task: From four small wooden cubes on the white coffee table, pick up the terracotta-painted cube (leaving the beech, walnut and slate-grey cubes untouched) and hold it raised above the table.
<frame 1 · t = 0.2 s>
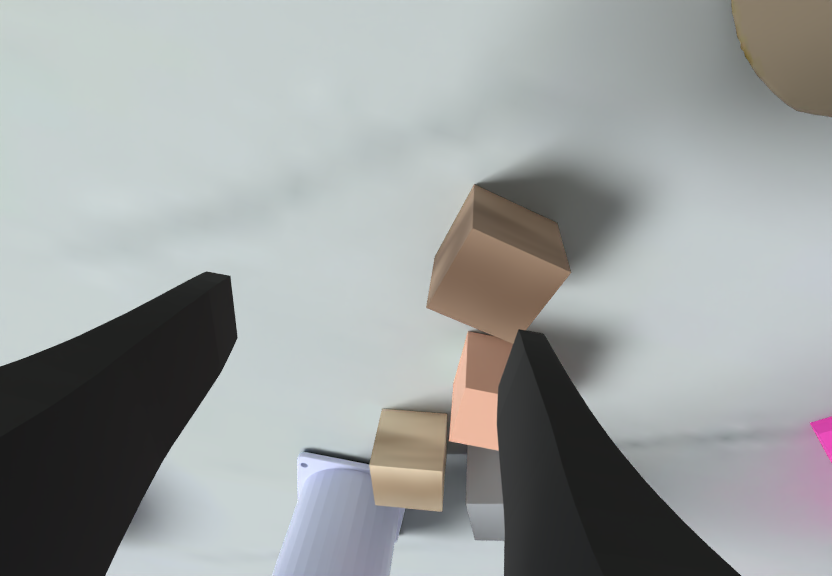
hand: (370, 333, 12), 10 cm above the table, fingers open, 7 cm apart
walnut cube: (493, 239, 21), on the table
terracotta cube: (496, 364, 25), on the table
slate cube: (502, 462, 30), on the table
beech cube: (415, 431, 29), on the table
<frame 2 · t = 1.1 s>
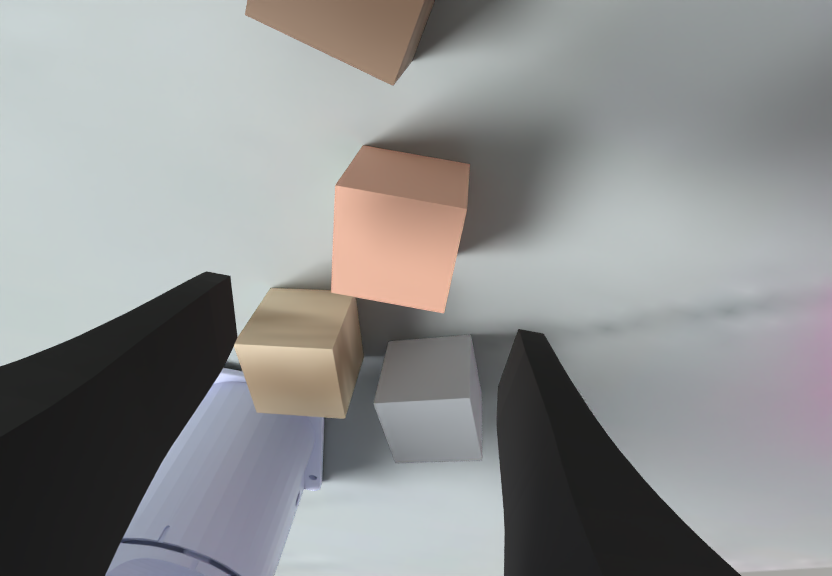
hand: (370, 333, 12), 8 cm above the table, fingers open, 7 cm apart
terracotta cube: (409, 203, 18), on the table
slate cube: (436, 367, 23), on the table
beech cube: (319, 322, 22), on the table
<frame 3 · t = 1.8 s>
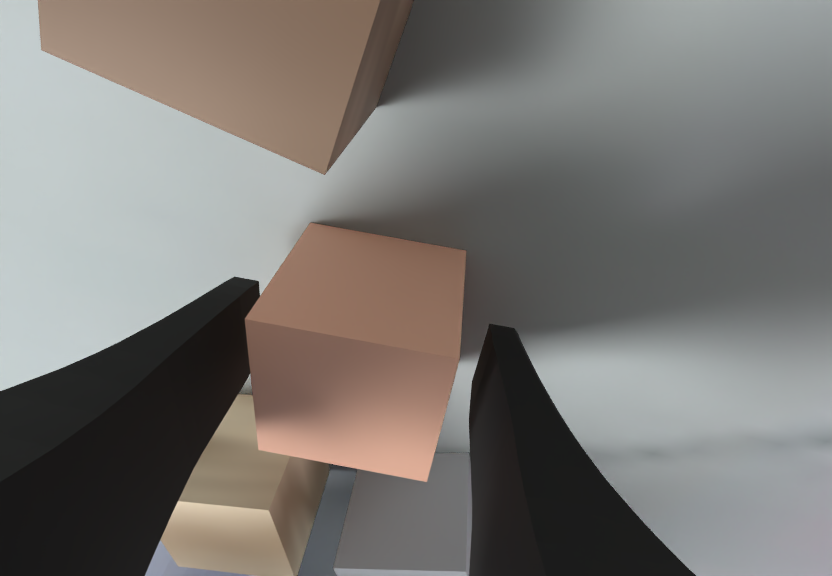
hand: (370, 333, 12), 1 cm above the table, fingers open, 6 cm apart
terracotta cube: (381, 297, 13), on the table
slate cube: (424, 484, 18), on the table
beech cube: (270, 431, 17), on the table
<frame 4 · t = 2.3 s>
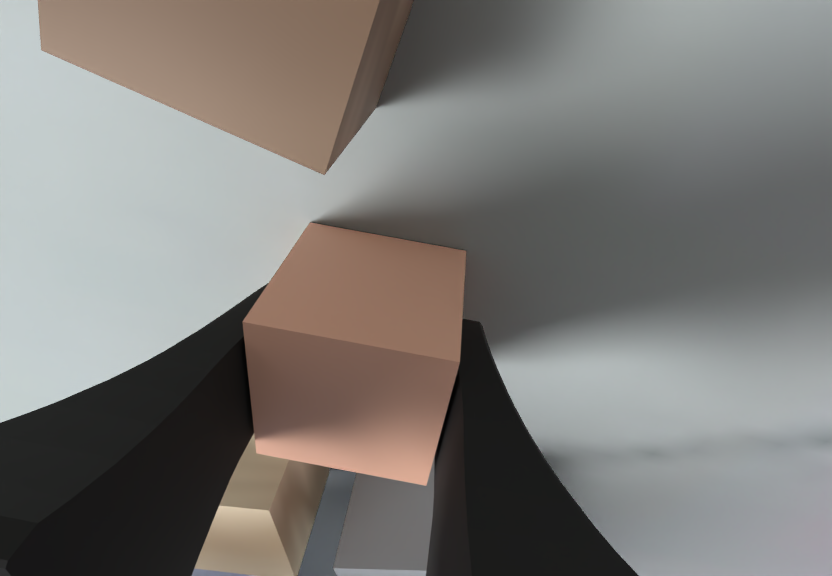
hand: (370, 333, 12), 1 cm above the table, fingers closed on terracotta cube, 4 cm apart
terracotta cube: (380, 299, 13), on the table, touching gripper
slate cube: (424, 484, 18), on the table
beech cube: (269, 431, 17), on the table
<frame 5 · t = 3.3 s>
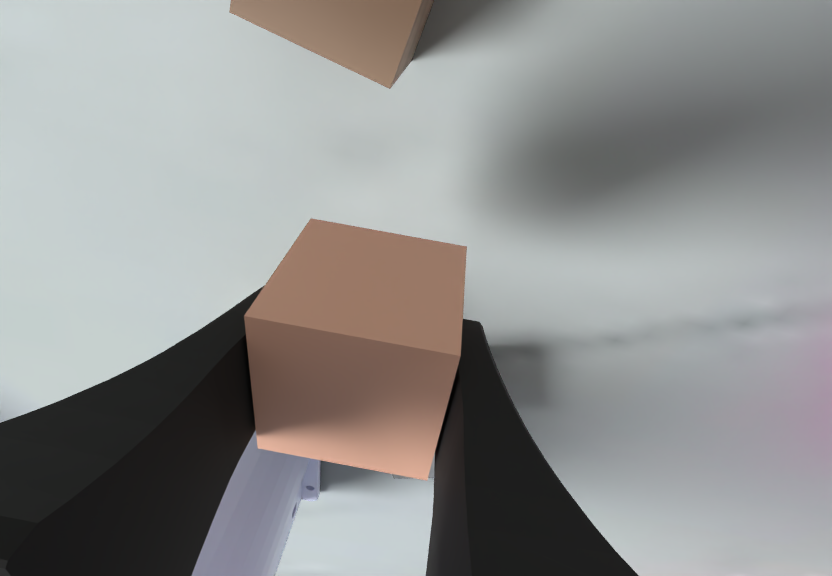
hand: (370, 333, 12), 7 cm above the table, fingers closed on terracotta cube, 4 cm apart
terracotta cube: (381, 295, 13), point 5 cm above the table, touching gripper
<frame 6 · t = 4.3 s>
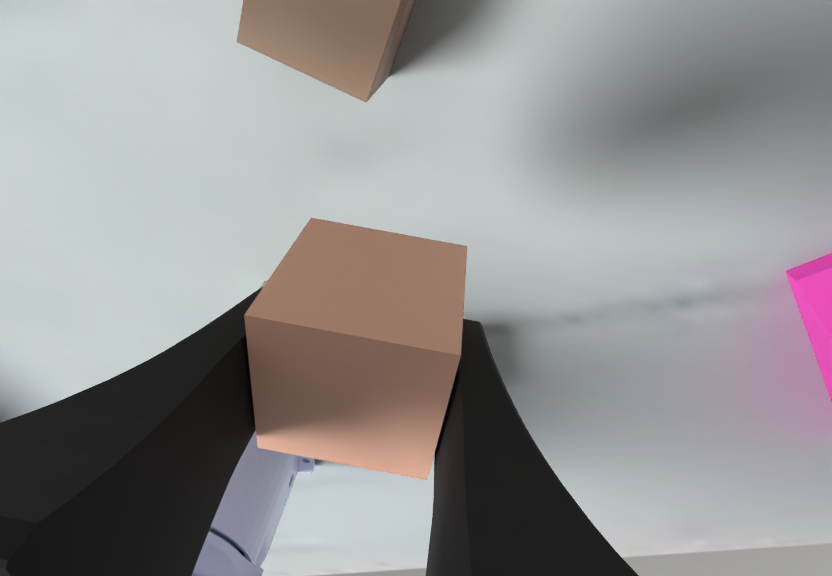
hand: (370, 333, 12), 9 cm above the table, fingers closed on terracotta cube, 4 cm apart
terracotta cube: (381, 295, 13), point 8 cm above the table, touching gripper
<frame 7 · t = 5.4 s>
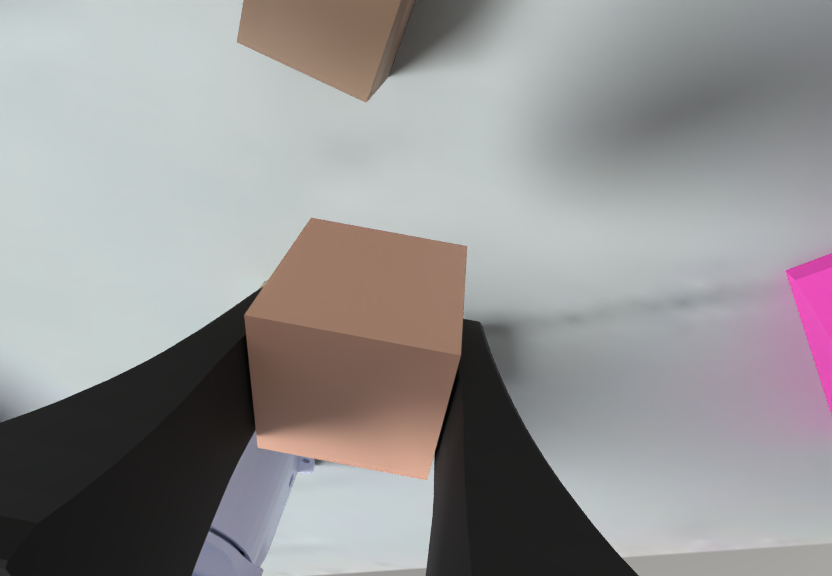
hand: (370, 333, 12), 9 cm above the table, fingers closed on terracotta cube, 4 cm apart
terracotta cube: (381, 295, 13), point 8 cm above the table, touching gripper
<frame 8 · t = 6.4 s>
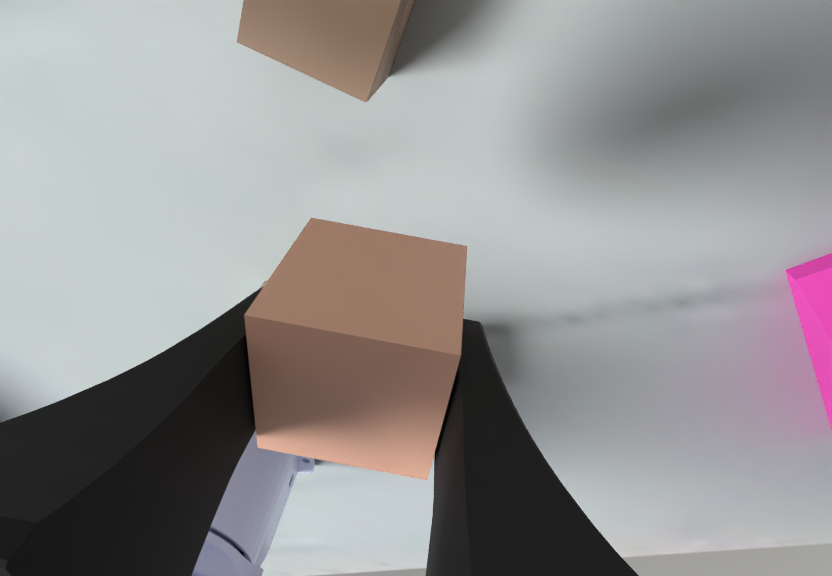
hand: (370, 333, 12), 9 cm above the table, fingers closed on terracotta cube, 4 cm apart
terracotta cube: (381, 295, 13), point 8 cm above the table, touching gripper
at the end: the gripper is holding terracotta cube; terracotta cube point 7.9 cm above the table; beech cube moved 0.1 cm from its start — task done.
